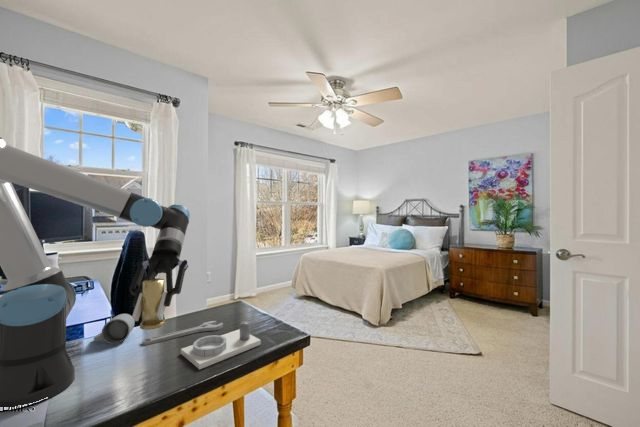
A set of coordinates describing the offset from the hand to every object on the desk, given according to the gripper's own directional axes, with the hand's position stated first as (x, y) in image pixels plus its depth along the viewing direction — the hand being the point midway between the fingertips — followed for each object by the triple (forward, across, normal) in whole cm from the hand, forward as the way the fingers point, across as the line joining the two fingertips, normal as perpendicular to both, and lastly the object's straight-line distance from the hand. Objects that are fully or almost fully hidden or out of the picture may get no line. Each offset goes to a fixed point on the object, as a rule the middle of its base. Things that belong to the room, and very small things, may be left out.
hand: (147, 318), depth 73 cm
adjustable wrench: (-7, -3, -29) cm, 30 cm away
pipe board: (+2, -17, -19) cm, 26 cm away
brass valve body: (0, 0, -5) cm, 5 cm away
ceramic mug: (-6, +18, -28) cm, 34 cm away
